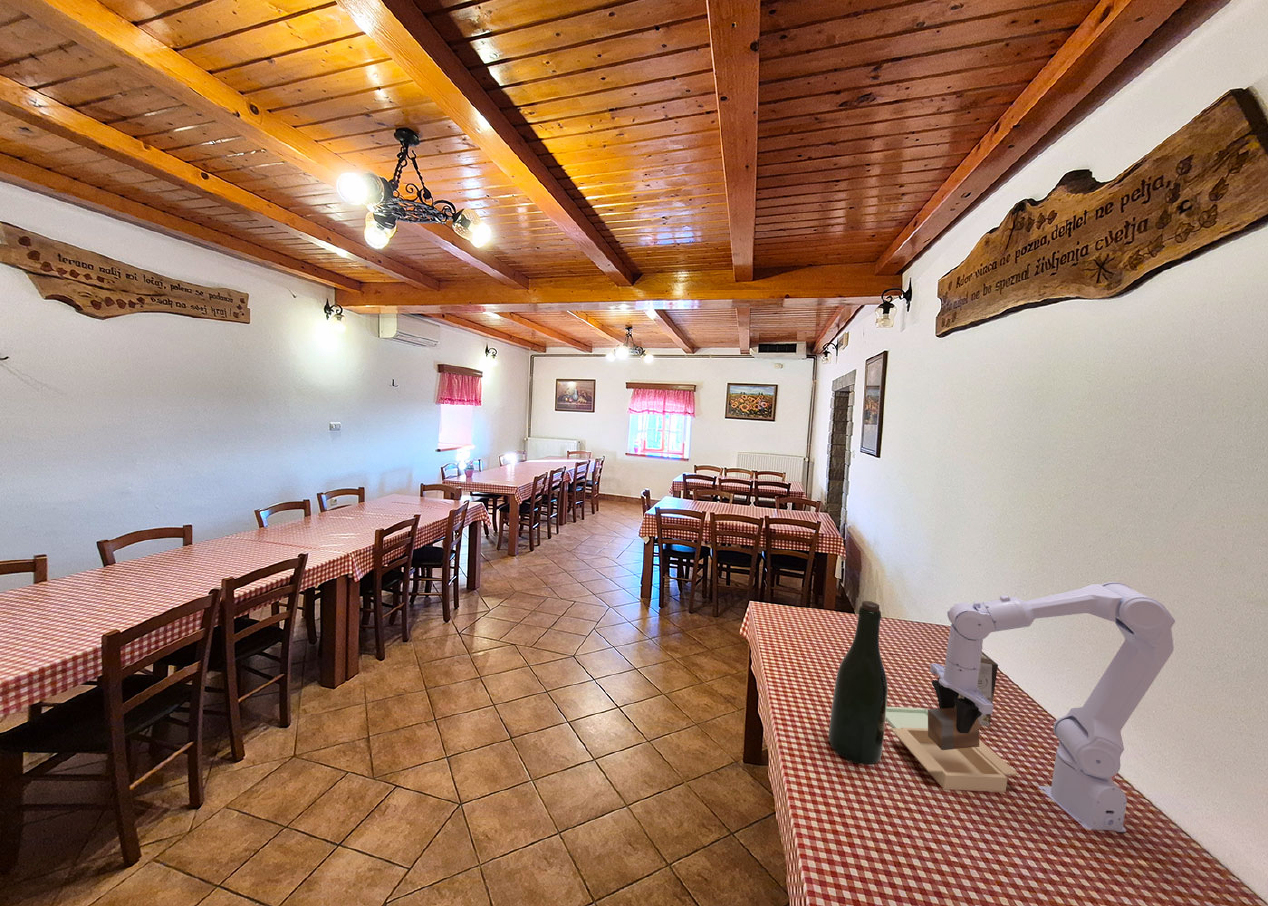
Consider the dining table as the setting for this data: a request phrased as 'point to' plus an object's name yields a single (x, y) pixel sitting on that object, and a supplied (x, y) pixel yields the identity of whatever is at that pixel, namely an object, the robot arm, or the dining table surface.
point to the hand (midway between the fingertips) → (954, 724)
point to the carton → (957, 763)
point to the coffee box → (986, 684)
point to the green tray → (907, 717)
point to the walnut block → (950, 730)
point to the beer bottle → (861, 694)
